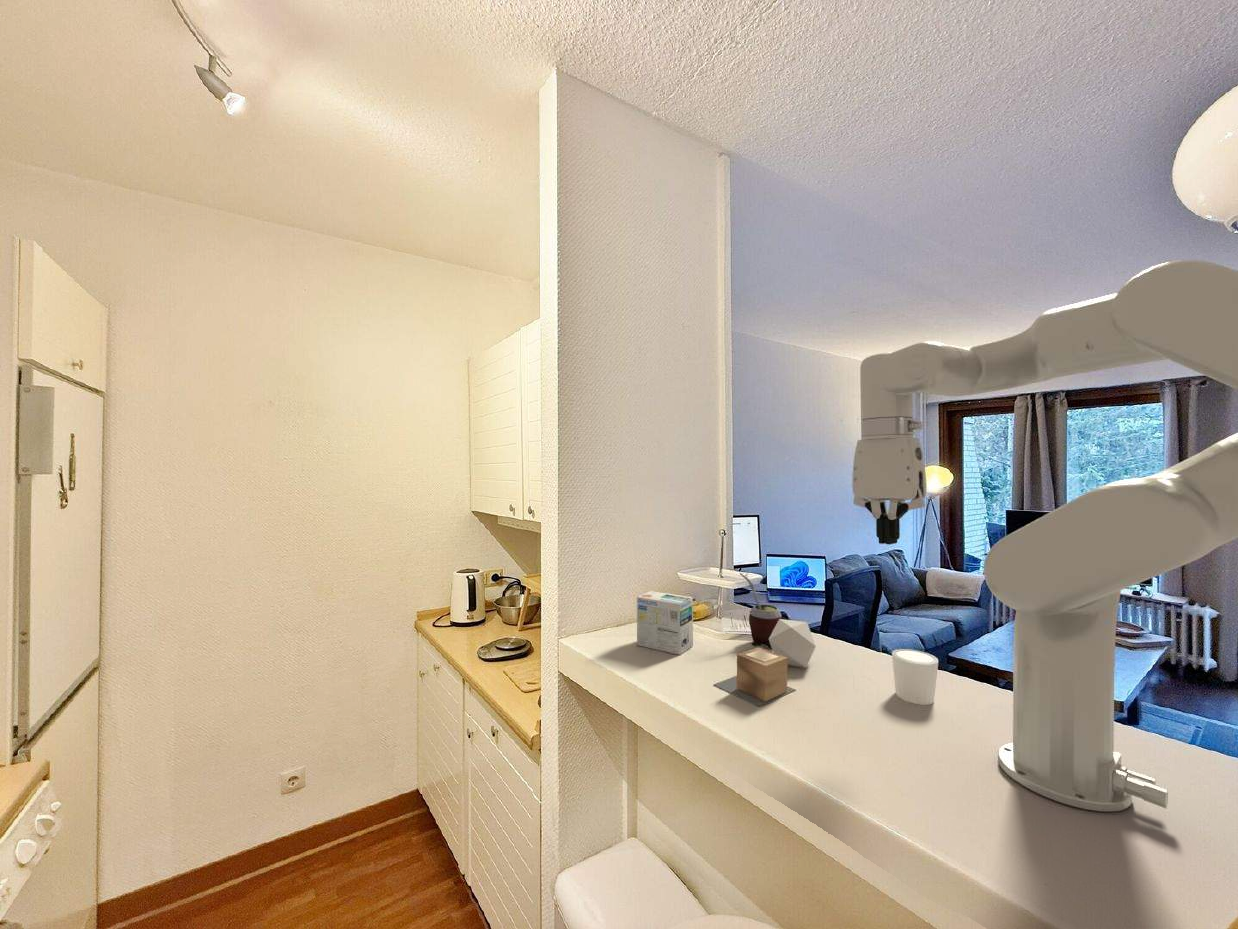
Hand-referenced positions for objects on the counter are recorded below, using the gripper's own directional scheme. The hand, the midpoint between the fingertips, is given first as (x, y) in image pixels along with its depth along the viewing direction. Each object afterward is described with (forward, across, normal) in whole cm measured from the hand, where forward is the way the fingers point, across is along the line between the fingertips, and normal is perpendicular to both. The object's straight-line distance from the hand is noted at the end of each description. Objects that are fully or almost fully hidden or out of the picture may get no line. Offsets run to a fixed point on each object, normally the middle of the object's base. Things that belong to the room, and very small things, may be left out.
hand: (888, 543), depth 83 cm
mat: (+26, +18, +11) cm, 34 cm away
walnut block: (+20, +16, +12) cm, 28 cm away
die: (+26, +20, -4) cm, 33 cm away
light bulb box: (+26, +43, +10) cm, 51 cm away
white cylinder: (+27, -1, -7) cm, 28 cm away
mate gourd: (+26, +30, -8) cm, 41 cm away
